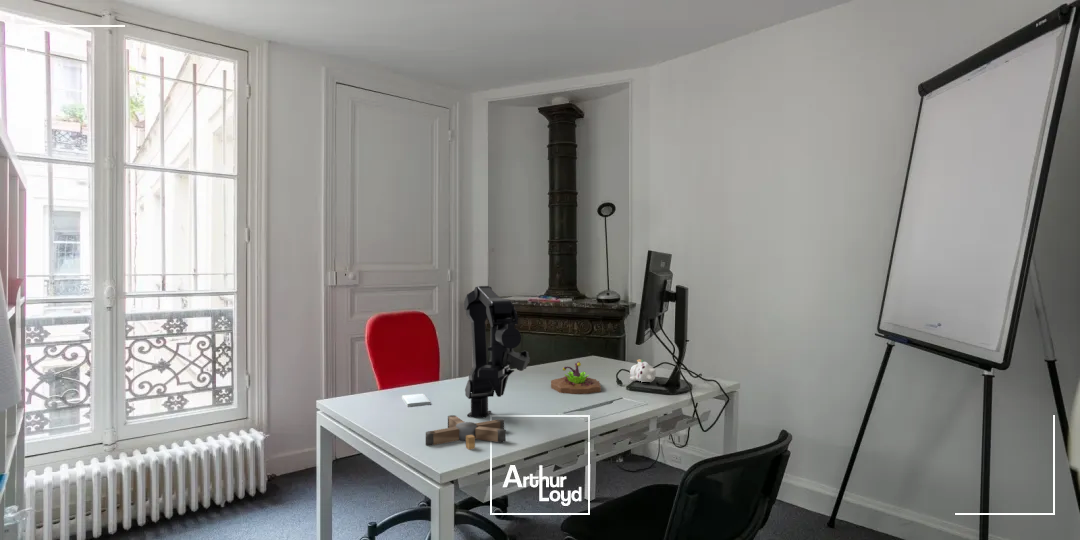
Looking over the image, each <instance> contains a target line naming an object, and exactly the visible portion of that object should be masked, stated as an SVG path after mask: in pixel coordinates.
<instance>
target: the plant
mask: <svg viewBox="0 0 1080 540" xmlns="http://www.w3.org/2000/svg"><path fill="white" fill-rule="evenodd" d="M581 366H582V364H581V362H580V361H577V362H574V367H575V369H573V367H571V366H564V367H562V371H565V372H566V371H567V369H570V370H571V371H568V372H567V374H565V373H564V376H563V377H560V378H555V379H551V380H550V388H551V389H553V390H554V391H556V392H557V393H560V394H571V395H589V394H594V393H601V392H602V386H601V383H600V380H597V379H596V378H592V377H589V376H590V374H587V373H586V371H582V372H580V369H579V367H581ZM586 374H587V375H586Z"/></svg>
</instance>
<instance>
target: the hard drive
mask: <svg viewBox="0 0 1080 540" xmlns="http://www.w3.org/2000/svg"><path fill="white" fill-rule="evenodd" d="M401 399H402V401H403V403H404V404H405V406H406V407H408V408H409V407H418V406H428V405H430V406H431V405H432V402H431V401H430V399H429V398H428V397H427V395H425V393H413V394H405V395H404V394H403V395H401Z"/></svg>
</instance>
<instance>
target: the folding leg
mask: <svg viewBox="0 0 1080 540" xmlns="http://www.w3.org/2000/svg"><path fill="white" fill-rule="evenodd" d="M506 430H507V429H505V428H504V429H498V428H489V427H481V426H479V427H477V428H476V429H475V440H481V441H488V442H495V443H496V442H497V443H505V442H507V441H506V440H507V438H506V437H507V435H506Z"/></svg>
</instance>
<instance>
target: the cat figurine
mask: <svg viewBox="0 0 1080 540" xmlns="http://www.w3.org/2000/svg"><path fill="white" fill-rule="evenodd" d="M636 362H637V364H634V365H633V364H632V366H631V368H630V370H629V373H630V376H629V380H630V381H632V382H636V381H639V382H640V381H641V383H642V382H650V383H652V382H653V381H654V380H655V378H656V376H657V375H656V371H657V369H656V368H654V367H653V366H652V365H650V364H649V363H648V362H647V361H645V360H644V359H640V358H639V359H636Z"/></svg>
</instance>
